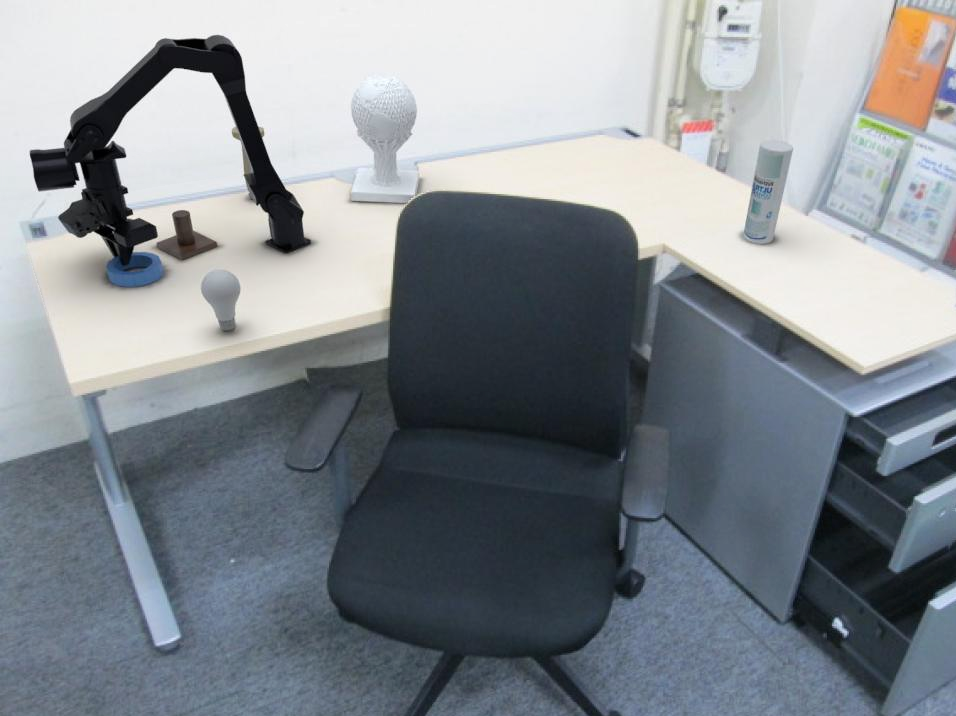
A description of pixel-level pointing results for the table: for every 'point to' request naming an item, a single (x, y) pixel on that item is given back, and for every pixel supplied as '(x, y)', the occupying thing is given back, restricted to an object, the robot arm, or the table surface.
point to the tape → (135, 277)
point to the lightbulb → (222, 296)
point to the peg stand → (185, 238)
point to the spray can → (767, 190)
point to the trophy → (384, 139)
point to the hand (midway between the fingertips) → (123, 263)
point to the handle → (245, 159)
